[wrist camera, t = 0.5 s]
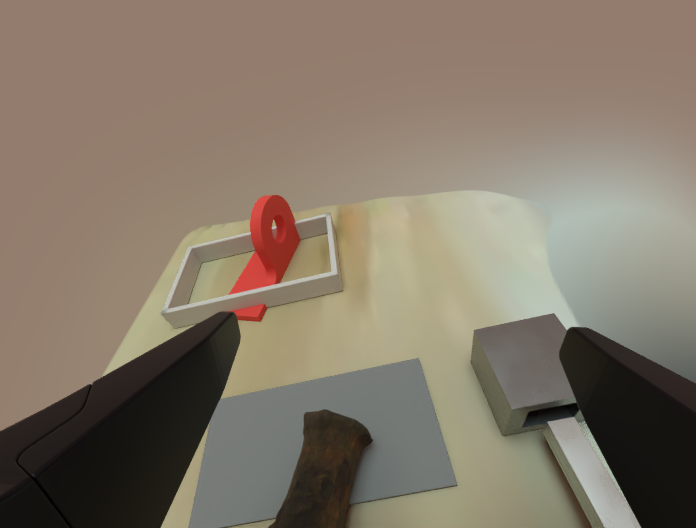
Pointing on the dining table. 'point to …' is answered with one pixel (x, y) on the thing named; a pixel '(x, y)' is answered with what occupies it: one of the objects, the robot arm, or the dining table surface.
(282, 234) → the bracket
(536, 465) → the dining table surface
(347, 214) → the dining table surface
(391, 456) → the mat
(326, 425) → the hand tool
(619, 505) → the key
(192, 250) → the parts frame
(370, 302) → the dining table surface
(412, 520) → the dining table surface
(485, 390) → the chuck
